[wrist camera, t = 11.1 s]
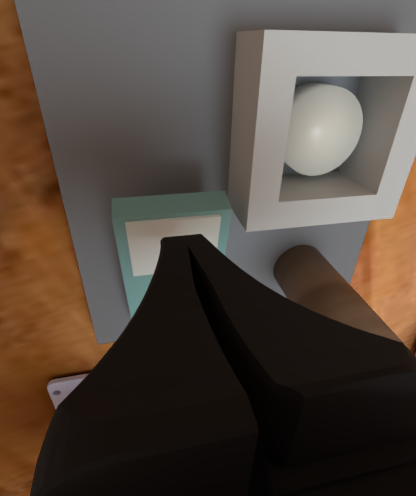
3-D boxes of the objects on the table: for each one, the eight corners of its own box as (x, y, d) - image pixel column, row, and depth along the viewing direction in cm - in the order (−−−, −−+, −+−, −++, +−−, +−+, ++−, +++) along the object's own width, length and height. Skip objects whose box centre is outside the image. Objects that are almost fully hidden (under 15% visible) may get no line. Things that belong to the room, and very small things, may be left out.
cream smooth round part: (333, 163, 16) (350, 173, 15) (264, 167, 15) (276, 178, 14) (351, 81, 14) (373, 85, 13) (273, 82, 13) (288, 86, 12)
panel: (330, 293, 23) (369, 341, 20) (99, 325, 20) (93, 389, 17) (423, -34, 14) (534, -61, 10) (10, -64, 11) (-50, -118, 7)
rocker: (210, 302, 19) (215, 322, 18) (132, 312, 18) (133, 333, 17) (224, 190, 13) (233, 211, 12) (111, 198, 12) (111, 221, 12)
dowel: (317, 281, 20) (394, 377, 15) (272, 290, 20) (332, 392, 14) (324, 241, 19) (413, 330, 13) (274, 249, 18) (344, 346, 12)
